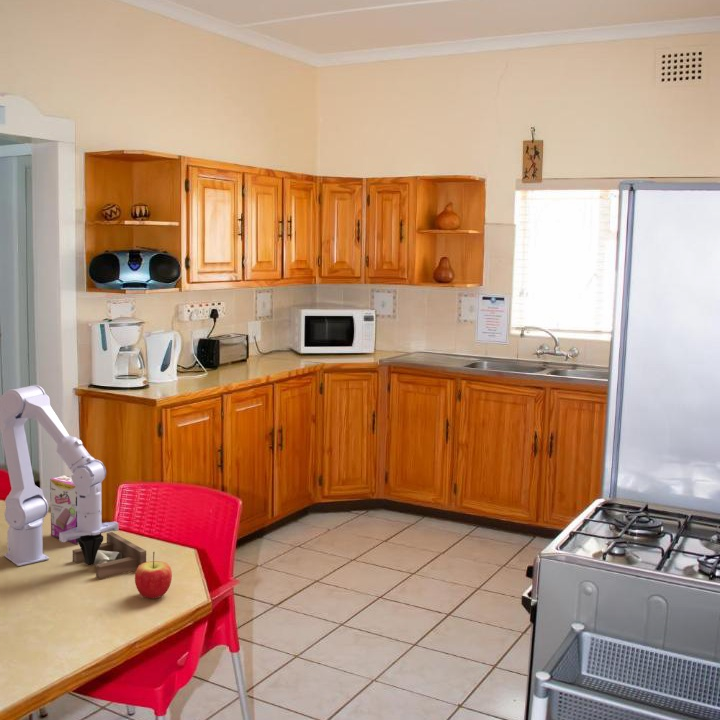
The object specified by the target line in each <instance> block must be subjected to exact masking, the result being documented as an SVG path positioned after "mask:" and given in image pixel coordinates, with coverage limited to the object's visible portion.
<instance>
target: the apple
mask: <svg viewBox="0 0 720 720" xmlns="http://www.w3.org/2000/svg"><path fill="white" fill-rule="evenodd" d="M152 553H153V554H152V560H151V561H150V560H149V561H146V562H145V563H142V564H141V565H139V566H138V568H137V570H135V574H134V583H135V586H136V587H135V588H136V589H137V591H138V593H139V595H141V596H142V597H144V598H147V599H157V598H160V597H163V596H164V595H166V593H167V592H168V590H169V589H170V586H171V585H172V580H173V579H172V578H173V573H172V572H173V571H172V568H171V566H170V565H169V564H168V563H167V562H164V561H158V560H155V551H153V552H152Z"/></svg>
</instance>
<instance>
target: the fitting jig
mask: <svg viewBox="0 0 720 720" xmlns="http://www.w3.org/2000/svg"><path fill="white" fill-rule="evenodd" d="M98 550H102V551H111V552H113V551H114V552H120V553H122V559H119V560H115V561H111V562H107V563H102V564H98V565H95V578H97V579H99V580H103V579H107V578H111V577H115V576H119V575H123V574H128V573H131V572H136V570H137V568H138V566H139V565H141V564H142V563H145V562H147V550H146V549H144V548H142V547H140V546H138V545H137V544H135V543H133V542H131V541H130V540H127V539H125V538H123V537H122V536H121V535H118V534H117V533H115V532H114V531H110V532H106V542H102V543H101V545H100V547H99V549H98ZM71 552H72V563H74V564H76V565H77V564H81V563H85V559H84V555H83V552H82V550H81V547H79V548H76V549H72V551H71Z"/></svg>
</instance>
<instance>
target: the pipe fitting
mask: <svg viewBox="0 0 720 720" xmlns="http://www.w3.org/2000/svg"><path fill="white" fill-rule="evenodd" d="M119 559H122V553H120V552H114V551H113V552H111V551H102V550H98V551H97V554H96V558H95V562H94V565H95V566H96V565H98V564H102V563H107V562H111V561H115V560H119Z"/></svg>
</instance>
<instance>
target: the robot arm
mask: <svg viewBox="0 0 720 720" xmlns="http://www.w3.org/2000/svg"><path fill="white" fill-rule="evenodd" d="M45 391H46V390H45V389H44V388H43V387H41V386H40V385H38V384H31V385H28V386H23V387H18V388H15V389H12V388H11V389H7V390H6V391H4V392H3V394H2V395H1V396H0V433H1V434H0V435H1V440H2V445H3V449H4V456H5V460H6V461H5V462H6V466H7V472H8V477H9V483H10V487H11V489H10V492H9V494H8V495H7V496H6V498H5V500H4V503H5V509H4V520H5V521H6V523H7V524H8V525H9V527H8V529H7V536H6V537H7V538H6V539H7V553H3V557H5V558H7V559H8V560H9V561H11V562H12V563H13V564H14V565H16V566H17V567H21V566H25V565H29V564H34V563H39V562H42V561H43V562H44V561H47V560H48V561H49V559H50V557H49V556H47V555H46V554H44V553H43V551H44V550H43V549H44V548H43V540H44V539H43V523H44V522H45V521H44V520H45V517H46V516H47V515H48V513H49V508H50V507H49V503H48V500H47V499H46V498H45V496H44V490H42V489H41V488H40V487H38V486H37V485H36V484H35V479H34V474H33V473H34V472H33V468H32V463H31V458H30V456H31V455H30V451H29V446H28V441H27V436H26V435H27V434H26V429H25V423H26V422H27V421H28V420H34V421H37V423H38V424H40V426H41V427H42V428H43V429H44V430H45V431H46V433H47V434H48V435H49V436H50V437H51V438H52V440H53V441H54V442H55V443H56V444H57V446H56V453H57V454H58V455H59V456H60V458H61V459H62V461H63V462H64V463H65V465H66V466H67V468H69V470H70V472H71V473H72V475H71V476H70V477H71V478H72V482H73V483H74V485H75V487H76V492H77V527H76V528H73V529H70V530H67V531H65V532H61V533H59V538H58V540H59V542H61V543H67V542H69V541H68V540H72V539H76V540H77V542H78V543H79V544H78V545H79V548H81V550H82V552H83V555H84V559H85V562H84V563H85V565H87V566H93V565H95V563H94V562H95V558H96V554H97V551H98V549H99V547H100V545H101V544H102V543H103V542H104V536H103V535H102V534H104V533H109V532H118V531H119V529H120V528H119V522H117V521H110V522H109V521H108V522H107V521H106V522H103V521H102V519H103V518H102V514H103V513H102V505H103V503H102V483H103V481H104V480H105V478H106V476H107V469H106V466H105V465H104V463H103V462H102V461H101V460H99V459H95V458H94V456H92V455H91V454H90V453H89V452H88V450H87V448H85V446H84V444H83V441H82V440H81V439H79V438H78V437H77V436H73V435H70V434H69V432H68V431H67V429H66V428H65V426H64V425H63V423H62V422H61V420H60V418H59V416H58V415H57V414H56V412H55V410H54V409H53V408H52V406H51V399H50V397H49V395H48V394H46V392H45Z"/></svg>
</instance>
